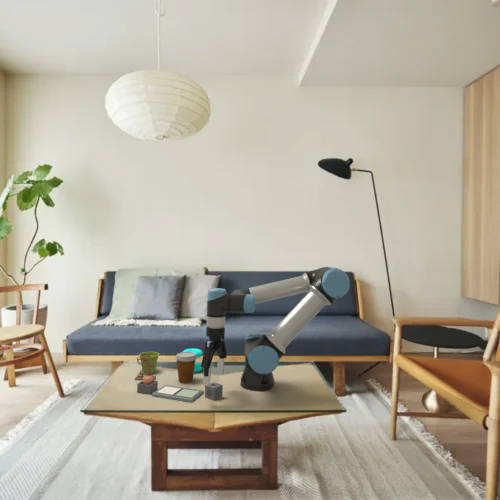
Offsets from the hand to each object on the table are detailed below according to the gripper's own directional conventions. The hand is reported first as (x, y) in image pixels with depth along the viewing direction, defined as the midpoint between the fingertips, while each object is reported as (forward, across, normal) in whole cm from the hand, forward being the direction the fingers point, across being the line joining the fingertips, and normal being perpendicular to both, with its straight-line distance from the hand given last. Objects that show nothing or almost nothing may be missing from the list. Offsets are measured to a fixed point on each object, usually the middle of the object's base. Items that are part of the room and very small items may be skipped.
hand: (213, 378), depth 159 cm
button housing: (+8, +4, -28) cm, 30 cm away
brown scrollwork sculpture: (+8, -8, -38) cm, 39 cm away
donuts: (+8, -27, -24) cm, 37 cm away
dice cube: (+8, 0, 0) cm, 8 cm away
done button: (+6, +4, -29) cm, 29 cm away
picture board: (+8, +3, -14) cm, 17 cm away
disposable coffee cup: (+8, -13, -20) cm, 25 cm away
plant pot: (+8, -17, -42) cm, 46 cm away
